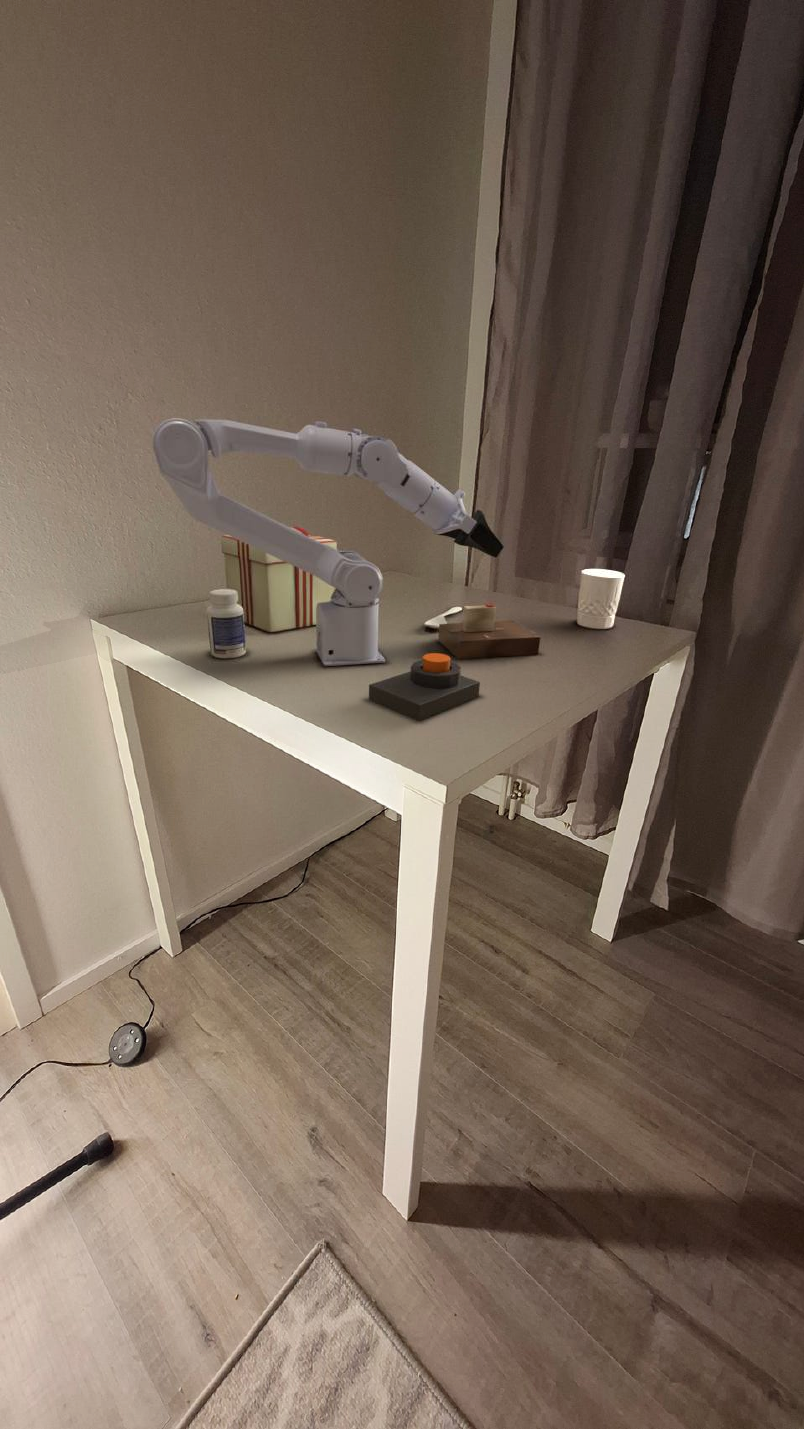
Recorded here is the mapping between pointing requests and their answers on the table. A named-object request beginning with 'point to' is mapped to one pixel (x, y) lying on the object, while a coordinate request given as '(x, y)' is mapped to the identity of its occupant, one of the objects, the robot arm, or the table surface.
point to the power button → (436, 662)
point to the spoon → (441, 618)
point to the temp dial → (478, 618)
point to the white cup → (599, 597)
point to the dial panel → (489, 640)
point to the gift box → (273, 586)
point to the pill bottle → (226, 624)
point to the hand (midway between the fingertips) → (489, 547)
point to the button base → (424, 691)
